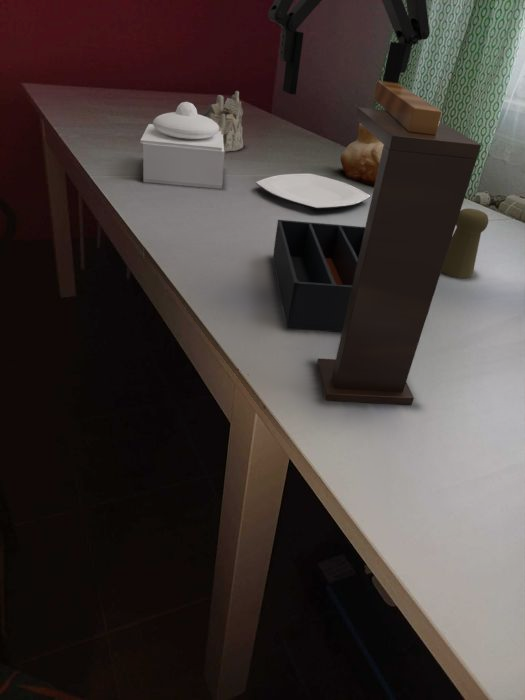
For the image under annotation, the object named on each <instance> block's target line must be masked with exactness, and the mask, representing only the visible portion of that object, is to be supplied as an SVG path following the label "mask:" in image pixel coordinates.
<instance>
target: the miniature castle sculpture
mask: <svg viewBox="0 0 525 700" xmlns="http://www.w3.org/2000/svg"><path fill="white" fill-rule="evenodd" d="M243 115H244V110H243V107H242V101H240V92H239V90H236V91H234V94H232V96H231V98H228V97H226V100H225V99H224V96H223V95H221V94H217V96H216V103H213V104H210V105H209V106H208V108H207V109H206V111H205V112H204V113H203V114H202V116H205V117H208V118H210V119H212V120H213V121H214V122H216V123H217V125H218V126H219V131H221V134H223V143H224V151H225V153H226V152H236V151H238V150H241V149H243V148H244V141H243V126H242V122H243V121H242V119H243Z"/></svg>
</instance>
